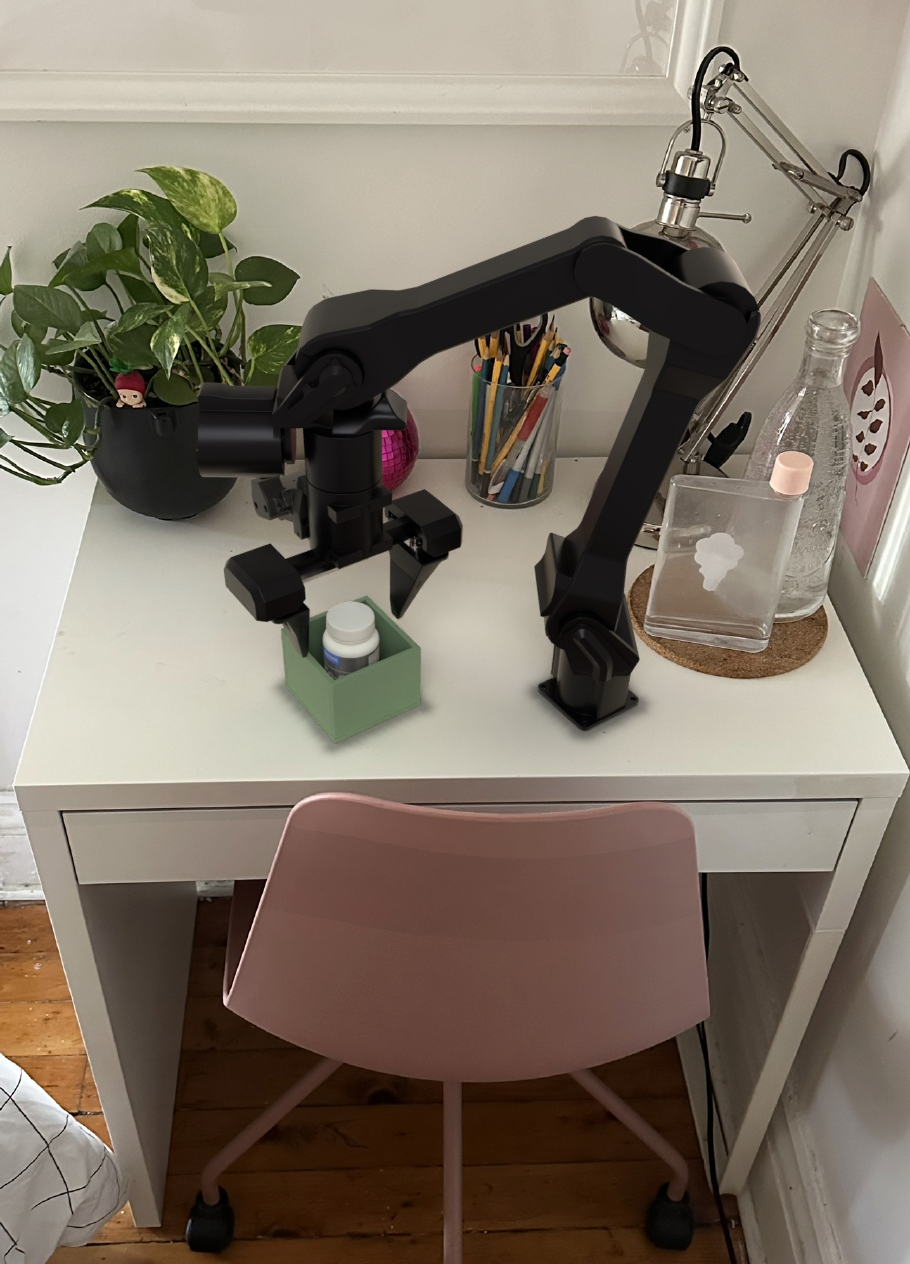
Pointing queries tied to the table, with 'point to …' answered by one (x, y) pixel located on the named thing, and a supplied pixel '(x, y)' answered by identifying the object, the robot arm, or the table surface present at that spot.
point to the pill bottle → (349, 639)
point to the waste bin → (355, 679)
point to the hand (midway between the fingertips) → (350, 634)
